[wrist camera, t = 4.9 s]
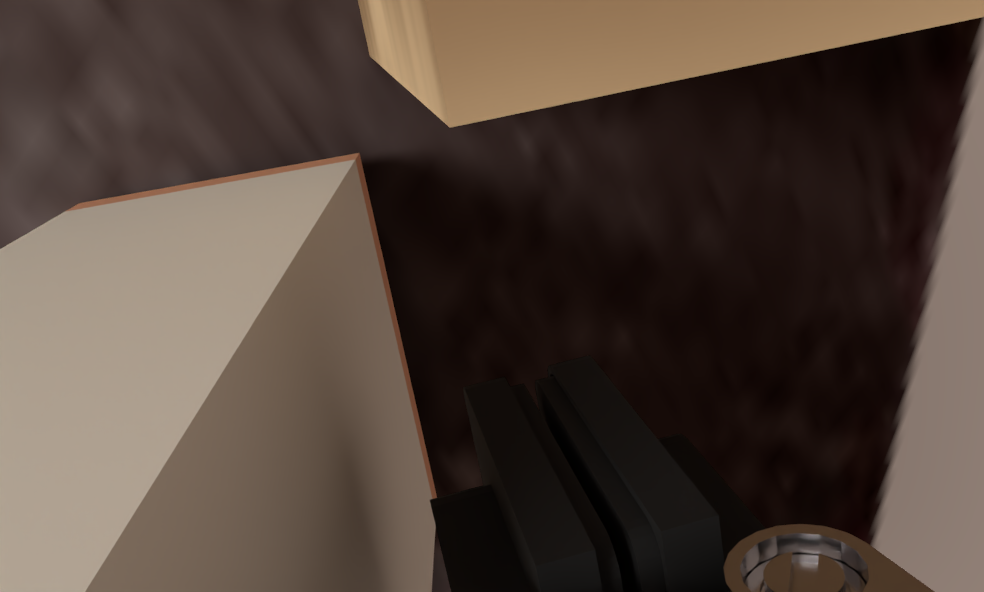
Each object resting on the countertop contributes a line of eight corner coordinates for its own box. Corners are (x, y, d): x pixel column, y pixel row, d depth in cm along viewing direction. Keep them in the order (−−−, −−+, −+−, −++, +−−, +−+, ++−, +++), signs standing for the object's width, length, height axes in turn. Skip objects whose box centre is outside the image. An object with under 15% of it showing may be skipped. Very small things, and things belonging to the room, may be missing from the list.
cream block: (79, 202, 16) (-877, 757, 5) (359, 152, 16) (78, 602, 4) (191, 539, 18) (-263, 1460, 7) (437, 498, 18) (383, 1375, 7)
